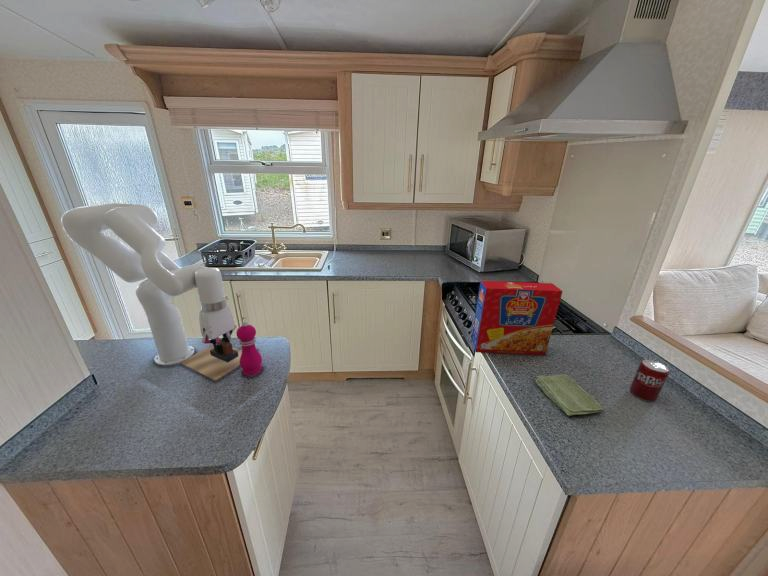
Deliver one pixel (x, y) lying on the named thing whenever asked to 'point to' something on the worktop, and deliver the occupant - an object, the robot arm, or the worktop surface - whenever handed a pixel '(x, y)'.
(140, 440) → the worktop surface
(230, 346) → the eraser
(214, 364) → the cutting board
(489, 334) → the pasta box
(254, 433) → the worktop surface
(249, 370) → the pepper mill
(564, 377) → the washcloth
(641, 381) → the soda can
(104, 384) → the worktop surface
